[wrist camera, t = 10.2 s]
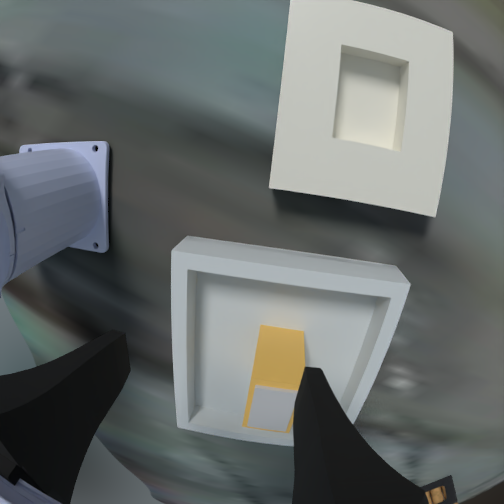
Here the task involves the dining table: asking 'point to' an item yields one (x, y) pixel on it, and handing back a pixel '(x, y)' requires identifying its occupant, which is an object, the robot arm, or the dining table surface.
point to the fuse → (275, 379)
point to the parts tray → (277, 315)
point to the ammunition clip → (438, 487)
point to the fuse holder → (364, 106)
